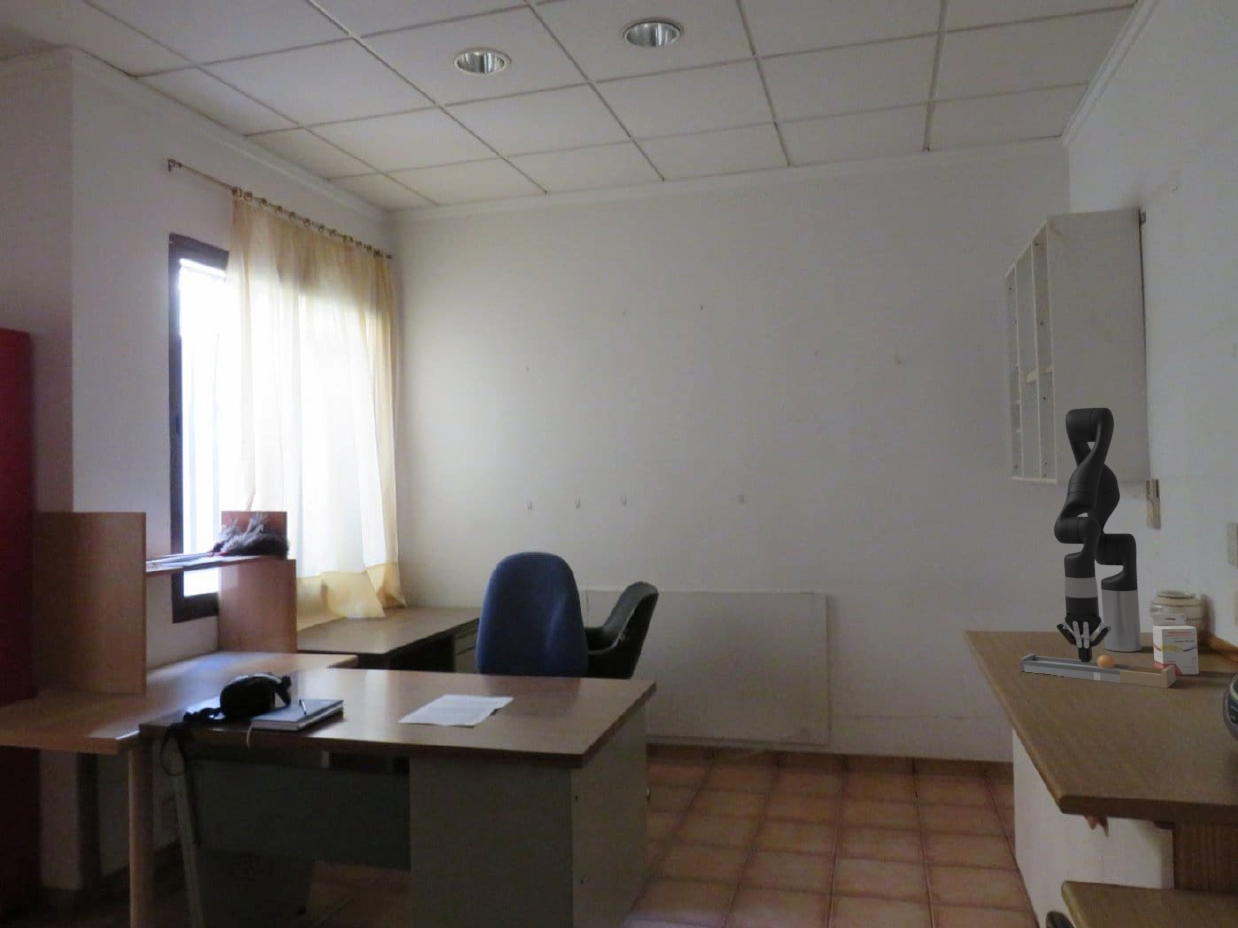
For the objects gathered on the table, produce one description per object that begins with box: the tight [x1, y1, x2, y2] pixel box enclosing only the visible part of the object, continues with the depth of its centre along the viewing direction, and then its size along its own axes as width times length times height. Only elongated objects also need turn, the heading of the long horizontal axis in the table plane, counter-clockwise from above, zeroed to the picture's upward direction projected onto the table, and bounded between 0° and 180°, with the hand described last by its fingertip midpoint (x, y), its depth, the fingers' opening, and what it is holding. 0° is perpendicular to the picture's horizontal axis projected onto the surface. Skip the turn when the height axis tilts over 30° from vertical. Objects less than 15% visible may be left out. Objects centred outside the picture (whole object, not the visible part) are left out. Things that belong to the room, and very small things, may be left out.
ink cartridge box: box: [1152, 612, 1200, 676], centre depth 228 cm, size 9×5×15 cm, turn 84°
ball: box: [1096, 653, 1116, 669], centre depth 226 cm, size 4×4×4 cm
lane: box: [1019, 653, 1176, 689], centre depth 228 cm, size 8×34×4 cm, turn 45°
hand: (1085, 661), depth 230 cm, fingers closed
